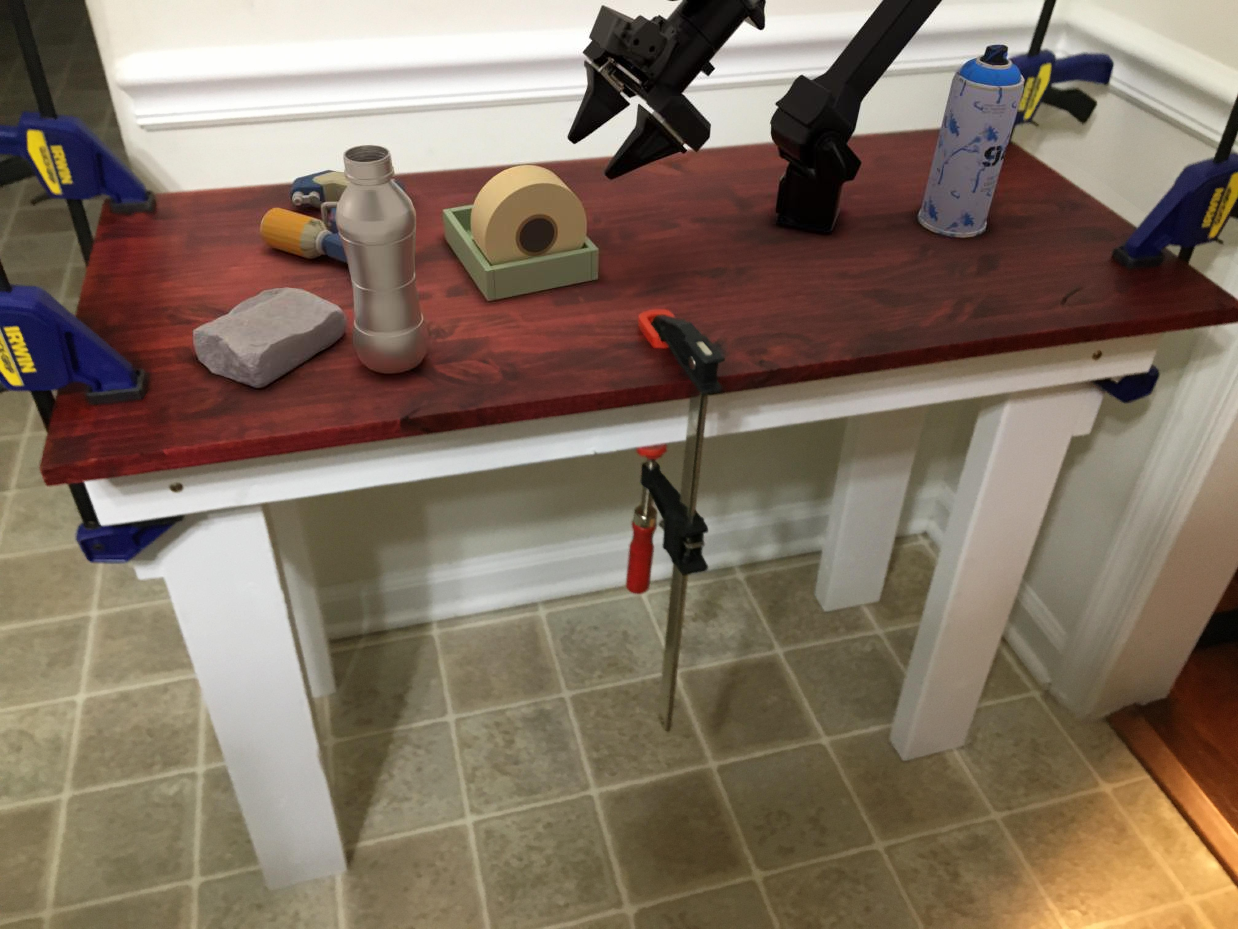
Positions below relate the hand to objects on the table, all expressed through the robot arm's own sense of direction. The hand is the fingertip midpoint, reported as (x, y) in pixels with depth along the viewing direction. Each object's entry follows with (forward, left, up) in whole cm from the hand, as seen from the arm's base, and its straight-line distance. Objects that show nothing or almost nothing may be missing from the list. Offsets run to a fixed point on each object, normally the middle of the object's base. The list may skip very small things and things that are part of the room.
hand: (588, 158), depth 101 cm
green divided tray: (+7, +2, -12) cm, 14 cm away
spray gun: (+28, +5, -12) cm, 30 cm away
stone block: (+22, +27, -12) cm, 36 cm away
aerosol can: (-36, -25, -12) cm, 46 cm away
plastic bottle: (+10, +25, -12) cm, 29 cm away
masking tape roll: (+5, +5, -6) cm, 9 cm away
